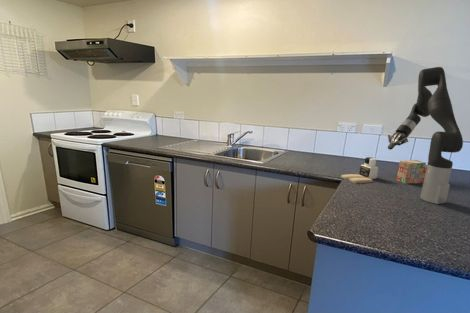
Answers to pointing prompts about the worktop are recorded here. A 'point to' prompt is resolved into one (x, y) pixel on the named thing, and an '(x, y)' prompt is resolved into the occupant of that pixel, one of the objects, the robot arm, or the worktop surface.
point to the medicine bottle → (369, 168)
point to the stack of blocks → (411, 171)
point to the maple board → (356, 178)
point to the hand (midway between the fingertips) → (389, 148)
